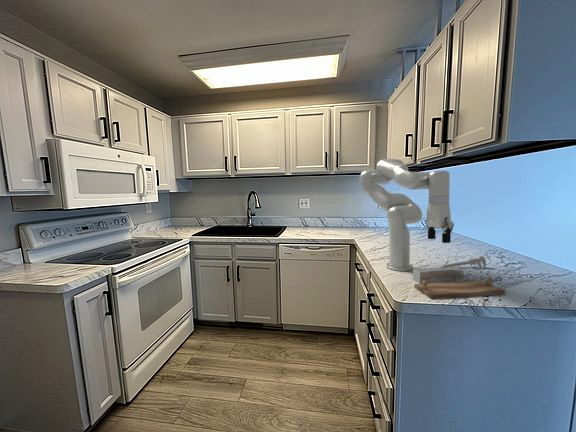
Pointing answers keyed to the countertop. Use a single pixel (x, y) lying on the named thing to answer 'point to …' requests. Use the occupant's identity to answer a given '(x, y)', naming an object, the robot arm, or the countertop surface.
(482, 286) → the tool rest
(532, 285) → the countertop surface
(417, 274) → the light grey block
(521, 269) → the countertop surface
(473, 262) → the caliper
